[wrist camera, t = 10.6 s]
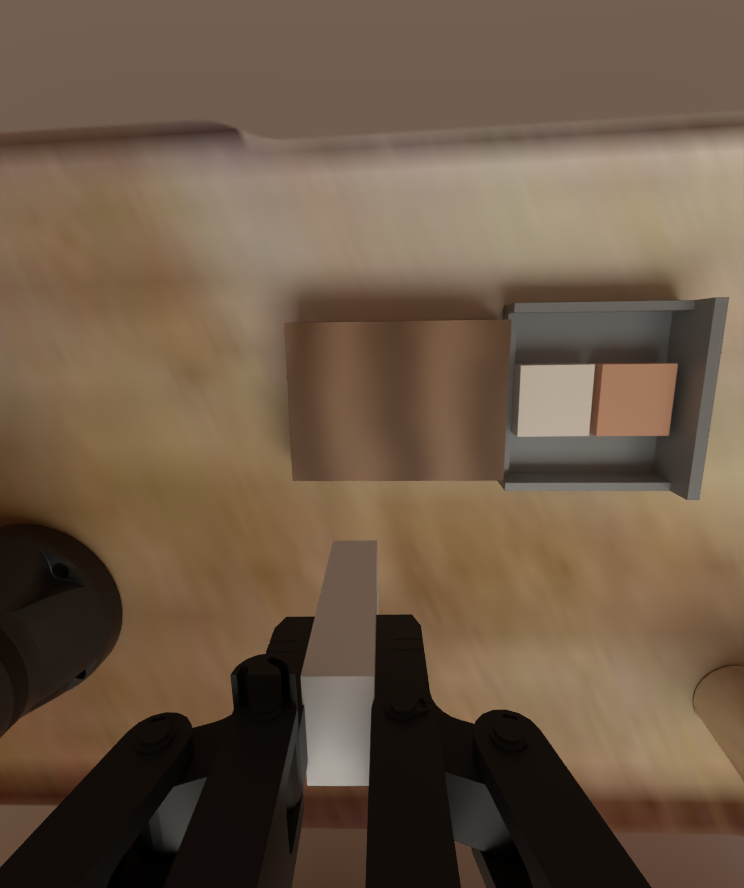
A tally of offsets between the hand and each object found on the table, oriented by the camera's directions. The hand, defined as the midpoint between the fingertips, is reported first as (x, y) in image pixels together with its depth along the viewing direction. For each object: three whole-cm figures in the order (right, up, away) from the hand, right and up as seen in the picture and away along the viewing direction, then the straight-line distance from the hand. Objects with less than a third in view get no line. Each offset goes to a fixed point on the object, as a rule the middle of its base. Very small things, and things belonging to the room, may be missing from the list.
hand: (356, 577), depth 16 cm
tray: (+17, +8, +19) cm, 27 cm away
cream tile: (+13, +8, +19) cm, 25 cm away
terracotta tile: (+19, +8, +16) cm, 26 cm away
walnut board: (+2, +8, +20) cm, 22 cm away
